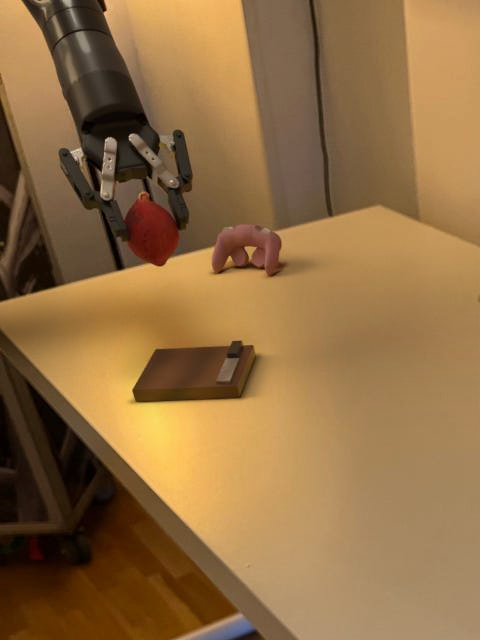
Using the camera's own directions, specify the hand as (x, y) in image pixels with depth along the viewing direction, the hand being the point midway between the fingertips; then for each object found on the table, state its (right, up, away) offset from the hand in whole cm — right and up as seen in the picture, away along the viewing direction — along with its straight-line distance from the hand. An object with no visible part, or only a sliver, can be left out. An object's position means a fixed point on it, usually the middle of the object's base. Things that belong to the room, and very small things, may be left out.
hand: (154, 231), depth 108 cm
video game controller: (+2, +9, +36) cm, 37 cm away
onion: (-1, -3, +4) cm, 5 cm away
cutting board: (+2, -14, +8) cm, 16 cm away
